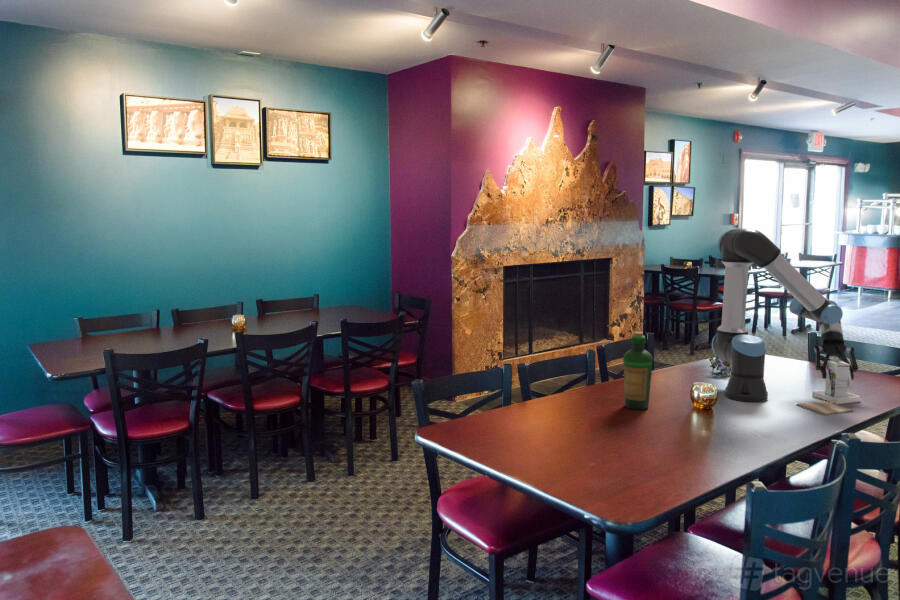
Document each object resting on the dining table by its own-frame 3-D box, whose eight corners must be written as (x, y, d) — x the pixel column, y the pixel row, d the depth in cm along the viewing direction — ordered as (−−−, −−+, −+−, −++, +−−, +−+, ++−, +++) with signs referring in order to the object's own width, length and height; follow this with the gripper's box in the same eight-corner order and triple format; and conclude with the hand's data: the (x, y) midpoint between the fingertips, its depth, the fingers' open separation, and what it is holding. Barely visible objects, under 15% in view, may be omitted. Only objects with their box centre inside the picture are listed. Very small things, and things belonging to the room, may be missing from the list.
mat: (823, 415, 225) (823, 413, 225) (796, 405, 236) (796, 403, 236) (852, 411, 228) (852, 409, 228) (824, 402, 240) (824, 400, 240)
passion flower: (726, 387, 280) (722, 369, 274) (704, 378, 289) (700, 360, 282) (741, 371, 284) (737, 352, 277) (719, 362, 292) (715, 344, 286)
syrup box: (824, 396, 247) (826, 360, 245) (840, 396, 246) (842, 360, 244) (831, 401, 241) (833, 363, 239) (847, 401, 241) (850, 363, 239)
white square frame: (836, 404, 237) (837, 399, 237) (812, 396, 247) (812, 391, 247) (860, 401, 240) (860, 396, 240) (834, 393, 250) (835, 388, 250)
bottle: (615, 405, 239) (617, 331, 235) (637, 401, 244) (639, 329, 240) (636, 412, 230) (638, 336, 226) (657, 408, 234) (660, 333, 231)
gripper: (857, 342, 252) (866, 393, 239) (802, 339, 259) (808, 389, 245) (862, 331, 247) (871, 382, 234) (805, 329, 253) (811, 379, 240)
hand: (839, 386), depth 239 cm, fingers closed on syrup box, 6 cm apart
